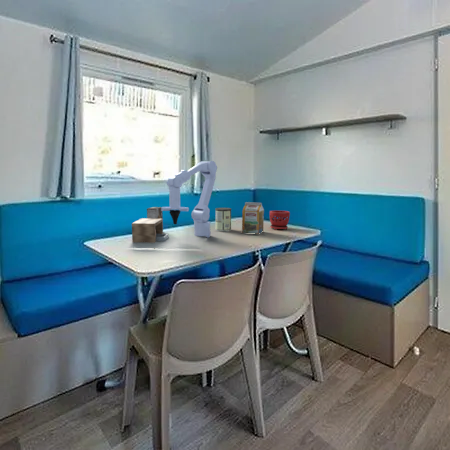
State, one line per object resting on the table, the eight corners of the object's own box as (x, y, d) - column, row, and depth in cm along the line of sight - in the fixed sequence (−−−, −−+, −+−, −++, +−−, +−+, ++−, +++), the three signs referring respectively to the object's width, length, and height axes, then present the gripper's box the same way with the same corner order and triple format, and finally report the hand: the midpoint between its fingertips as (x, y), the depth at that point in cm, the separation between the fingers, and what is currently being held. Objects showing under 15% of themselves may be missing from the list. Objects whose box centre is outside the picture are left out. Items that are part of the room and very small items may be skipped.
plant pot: (290, 230, 221) (291, 212, 219) (270, 230, 221) (271, 212, 220) (287, 227, 234) (288, 209, 232) (268, 227, 234) (268, 209, 232)
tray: (168, 239, 191) (168, 234, 191) (164, 242, 183) (164, 237, 182) (147, 238, 192) (147, 233, 192) (142, 242, 183) (142, 236, 183)
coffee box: (153, 232, 211) (152, 206, 209) (163, 232, 210) (162, 207, 207) (147, 235, 202) (146, 208, 200) (157, 235, 201) (156, 208, 199)
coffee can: (220, 228, 229) (221, 207, 227) (234, 229, 223) (234, 208, 221) (212, 230, 220) (212, 208, 218) (225, 232, 215) (225, 209, 213)
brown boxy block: (163, 237, 196) (162, 218, 194) (155, 244, 178) (154, 223, 177) (142, 237, 197) (141, 218, 195) (132, 243, 179) (131, 223, 177)
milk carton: (242, 233, 210) (242, 202, 207) (247, 230, 220) (248, 201, 217) (258, 234, 206) (259, 203, 203) (263, 232, 216) (264, 202, 213)
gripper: (159, 199, 180) (160, 225, 182) (187, 200, 179) (187, 225, 181) (162, 198, 187) (163, 223, 189) (189, 198, 186) (189, 223, 188)
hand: (175, 224), depth 185 cm, fingers closed
